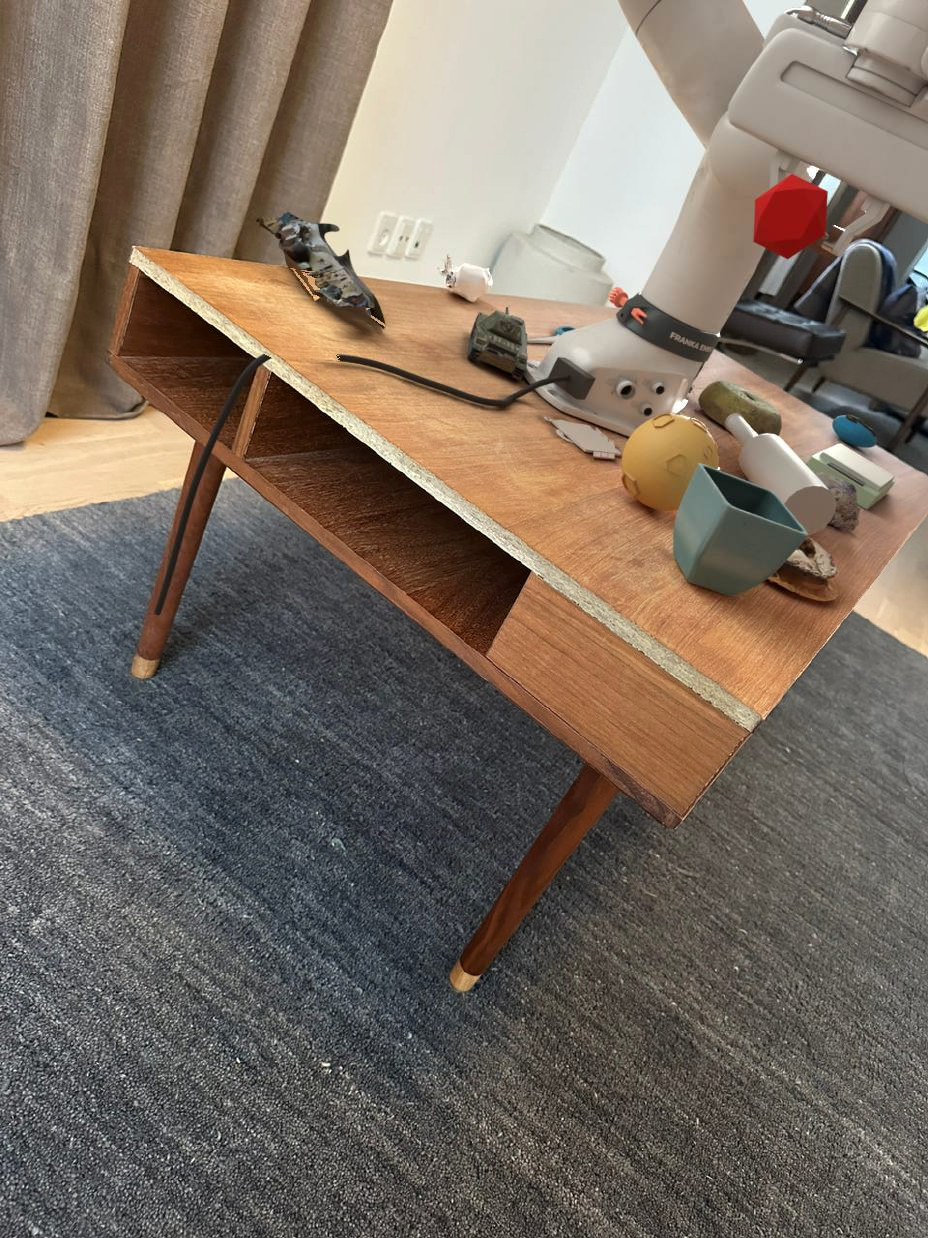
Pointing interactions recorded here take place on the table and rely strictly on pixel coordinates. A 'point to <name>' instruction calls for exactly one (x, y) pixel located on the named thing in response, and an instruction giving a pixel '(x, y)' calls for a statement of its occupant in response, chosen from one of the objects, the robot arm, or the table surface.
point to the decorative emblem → (586, 438)
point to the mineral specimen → (842, 501)
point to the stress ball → (666, 459)
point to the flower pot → (732, 532)
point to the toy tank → (500, 342)
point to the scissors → (551, 339)
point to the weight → (740, 407)
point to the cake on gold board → (809, 572)
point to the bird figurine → (466, 279)
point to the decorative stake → (791, 218)
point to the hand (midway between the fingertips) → (799, 235)
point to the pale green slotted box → (854, 473)
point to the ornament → (854, 431)
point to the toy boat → (321, 263)
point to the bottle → (783, 475)
